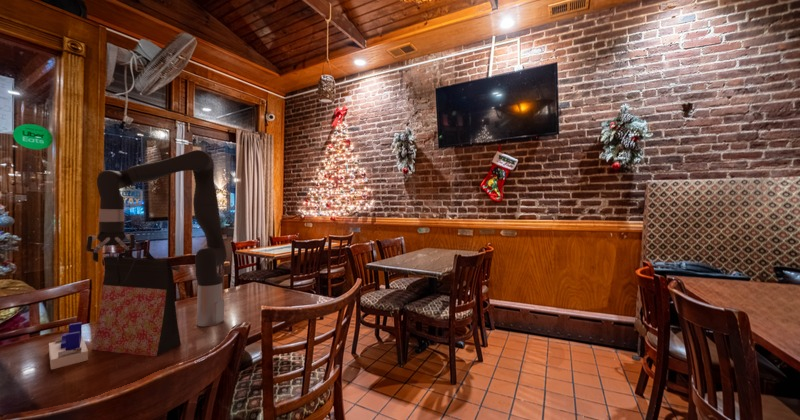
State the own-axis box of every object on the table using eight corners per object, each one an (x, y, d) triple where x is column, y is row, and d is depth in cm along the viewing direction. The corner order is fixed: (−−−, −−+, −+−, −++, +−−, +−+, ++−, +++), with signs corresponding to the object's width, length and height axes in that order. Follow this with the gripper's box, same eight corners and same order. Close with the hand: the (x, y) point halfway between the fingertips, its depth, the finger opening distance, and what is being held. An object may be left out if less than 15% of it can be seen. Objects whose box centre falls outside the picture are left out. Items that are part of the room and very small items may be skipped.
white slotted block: (82, 344, 112) (82, 332, 112) (87, 360, 101) (88, 346, 101) (48, 351, 106) (49, 338, 106) (50, 369, 95) (51, 355, 95)
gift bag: (82, 353, 105) (83, 251, 105) (124, 336, 119) (126, 246, 119) (157, 361, 101) (159, 255, 101) (192, 343, 115) (194, 249, 115)
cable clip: (62, 342, 107) (62, 325, 107) (81, 338, 110) (81, 322, 110) (58, 355, 98) (58, 336, 98) (79, 350, 101) (79, 332, 101)
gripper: (133, 219, 132) (132, 257, 133) (85, 220, 122) (85, 261, 122) (136, 220, 128) (136, 259, 128) (88, 221, 117) (87, 264, 117)
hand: (111, 260), depth 125 cm, fingers open, 8 cm apart
